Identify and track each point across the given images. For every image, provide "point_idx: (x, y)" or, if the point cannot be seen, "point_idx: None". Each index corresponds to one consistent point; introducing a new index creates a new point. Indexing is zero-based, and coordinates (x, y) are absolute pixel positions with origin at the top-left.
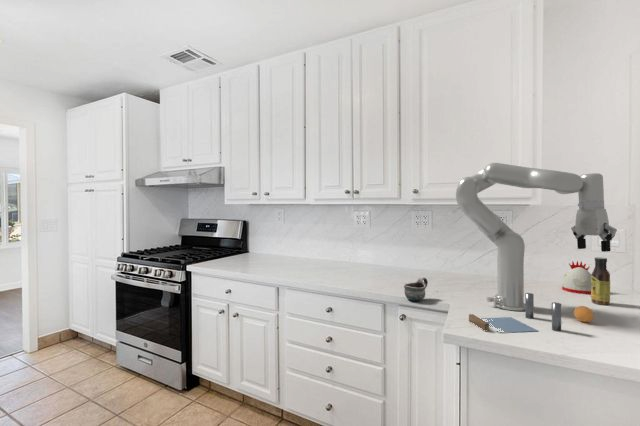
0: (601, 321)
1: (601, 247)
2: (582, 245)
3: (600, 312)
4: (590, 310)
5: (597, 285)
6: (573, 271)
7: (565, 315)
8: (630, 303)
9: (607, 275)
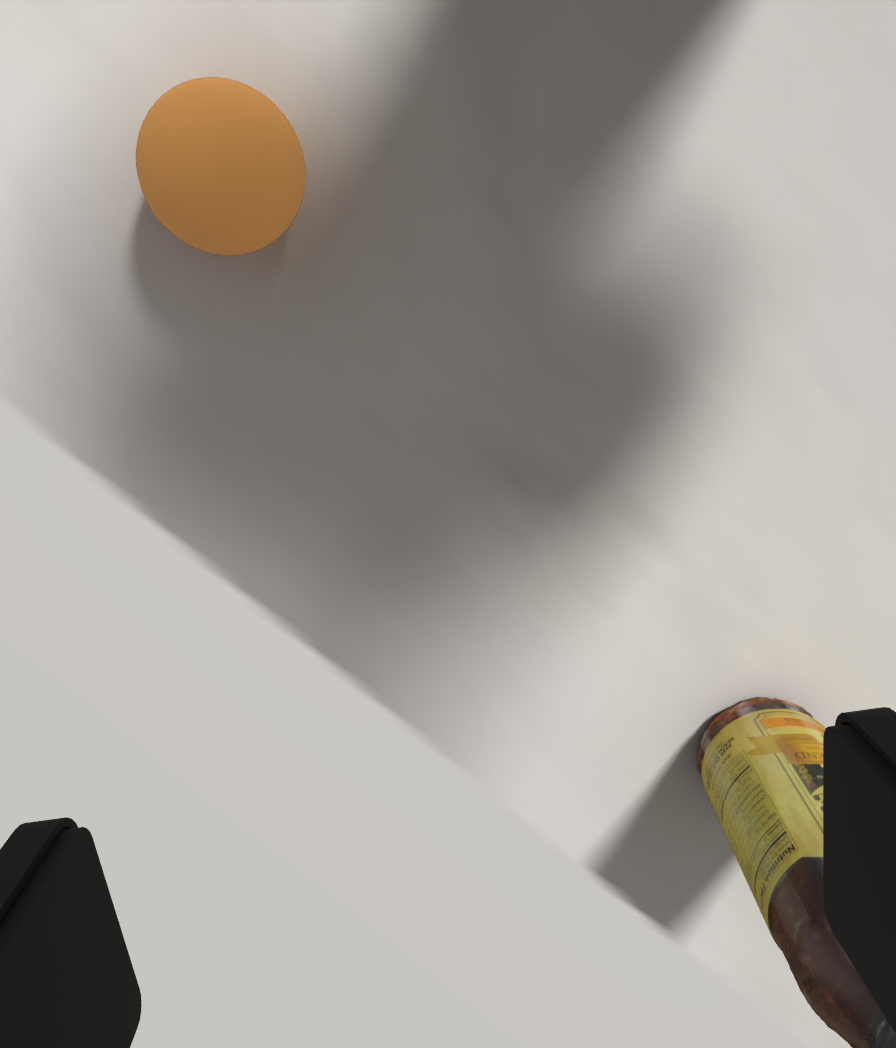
0: (260, 355)
1: (2, 892)
2: (877, 890)
3: (507, 545)
4: (155, 197)
5: (797, 808)
6: None
7: (428, 138)
8: (720, 949)
9: (798, 972)
